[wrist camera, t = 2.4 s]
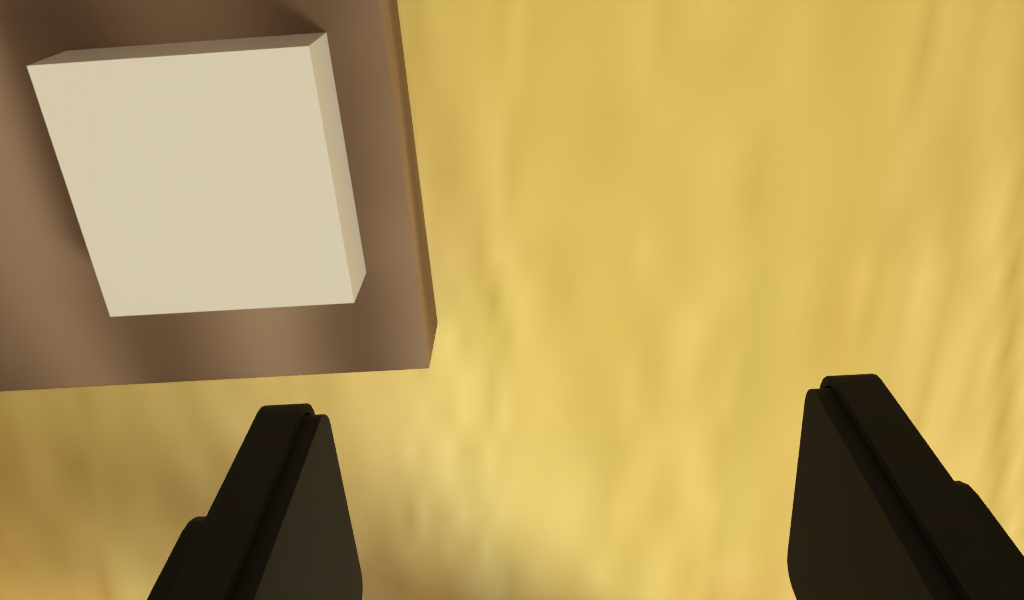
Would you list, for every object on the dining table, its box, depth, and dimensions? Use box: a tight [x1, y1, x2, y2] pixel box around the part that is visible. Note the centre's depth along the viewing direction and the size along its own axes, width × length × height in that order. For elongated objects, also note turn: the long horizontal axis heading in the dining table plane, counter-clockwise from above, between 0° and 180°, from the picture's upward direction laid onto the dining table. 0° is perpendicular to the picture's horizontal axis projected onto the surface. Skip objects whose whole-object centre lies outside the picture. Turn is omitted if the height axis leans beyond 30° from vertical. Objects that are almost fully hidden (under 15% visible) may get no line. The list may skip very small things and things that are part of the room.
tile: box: [27, 32, 366, 317], centre depth 22 cm, size 7×7×2 cm
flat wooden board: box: [0, 0, 437, 391], centre depth 25 cm, size 16×14×3 cm
